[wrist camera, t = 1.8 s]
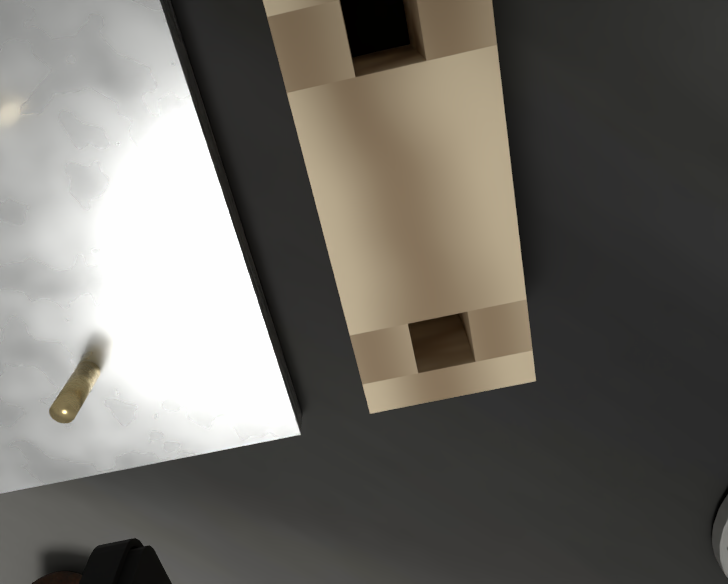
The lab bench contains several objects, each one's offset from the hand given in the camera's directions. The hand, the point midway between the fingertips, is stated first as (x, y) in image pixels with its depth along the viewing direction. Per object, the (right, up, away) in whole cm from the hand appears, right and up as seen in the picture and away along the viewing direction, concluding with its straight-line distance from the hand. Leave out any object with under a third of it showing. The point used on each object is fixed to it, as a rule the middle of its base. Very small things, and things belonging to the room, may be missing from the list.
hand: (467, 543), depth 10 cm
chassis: (-15, +6, +17) cm, 23 cm away
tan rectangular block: (0, +9, +16) cm, 19 cm away
